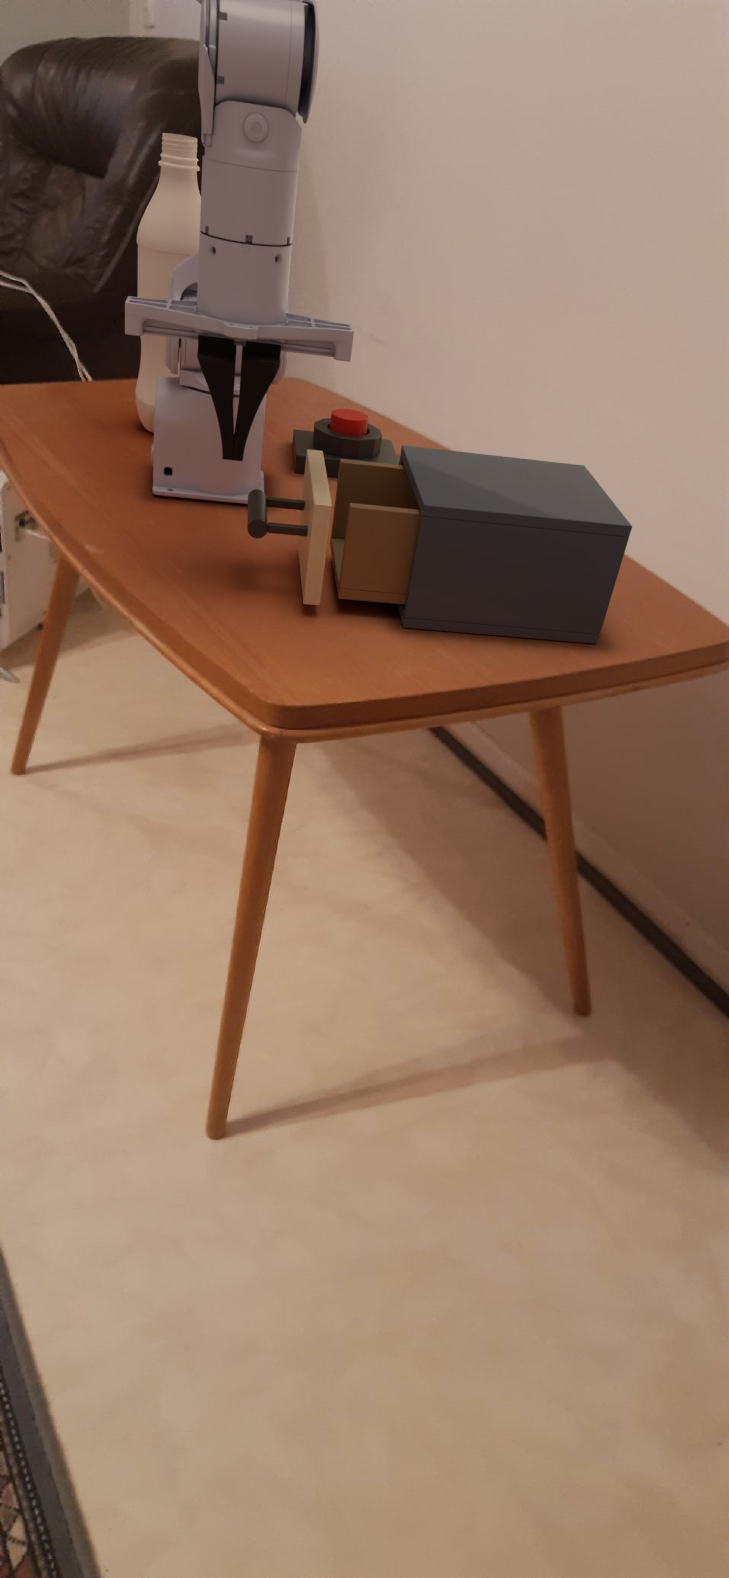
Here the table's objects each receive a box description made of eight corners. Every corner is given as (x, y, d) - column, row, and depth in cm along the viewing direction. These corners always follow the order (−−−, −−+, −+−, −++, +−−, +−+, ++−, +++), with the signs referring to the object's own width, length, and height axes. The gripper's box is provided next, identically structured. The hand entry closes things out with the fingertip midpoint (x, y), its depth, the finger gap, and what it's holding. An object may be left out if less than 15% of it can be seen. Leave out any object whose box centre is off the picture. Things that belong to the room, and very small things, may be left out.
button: (330, 436, 97) (332, 418, 96) (328, 425, 100) (330, 407, 99) (367, 440, 98) (370, 422, 97) (364, 429, 101) (366, 411, 100)
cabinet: (402, 628, 73) (424, 504, 68) (384, 556, 83) (401, 445, 78) (597, 644, 75) (632, 526, 70) (556, 573, 85) (584, 465, 80)
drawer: (243, 599, 71) (250, 497, 67) (244, 535, 81) (250, 442, 76) (489, 620, 74) (511, 523, 70) (462, 556, 83) (480, 468, 79)
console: (294, 472, 97) (298, 435, 95) (291, 446, 103) (295, 410, 101) (398, 483, 98) (404, 447, 96) (389, 456, 105) (394, 422, 103)
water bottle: (176, 446, 98) (185, 141, 84) (119, 426, 101) (119, 127, 87) (222, 433, 104) (238, 144, 89) (168, 414, 106) (175, 131, 92)
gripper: (119, 230, 59) (119, 463, 67) (367, 264, 61) (340, 486, 69) (131, 214, 65) (130, 430, 73) (358, 245, 67) (333, 453, 75)
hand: (232, 456), depth 71 cm, fingers closed
